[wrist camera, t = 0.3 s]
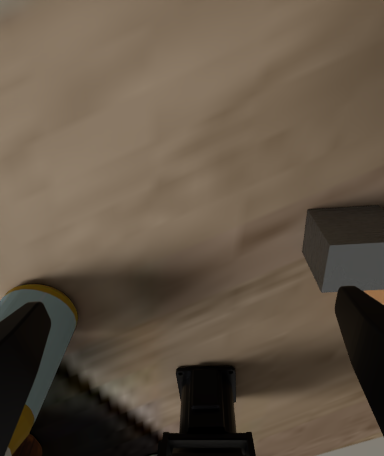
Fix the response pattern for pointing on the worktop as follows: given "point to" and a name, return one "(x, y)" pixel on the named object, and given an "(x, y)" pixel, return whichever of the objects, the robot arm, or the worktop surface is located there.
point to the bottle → (53, 353)
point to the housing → (345, 247)
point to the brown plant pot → (29, 447)
